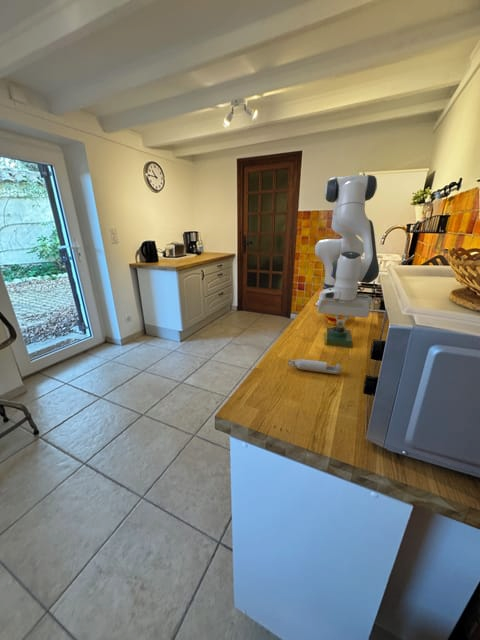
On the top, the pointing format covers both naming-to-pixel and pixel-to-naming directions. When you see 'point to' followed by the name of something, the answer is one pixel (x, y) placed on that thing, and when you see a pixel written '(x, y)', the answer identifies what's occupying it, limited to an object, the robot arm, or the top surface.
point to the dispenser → (338, 338)
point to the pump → (339, 328)
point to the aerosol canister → (315, 366)
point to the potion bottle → (332, 318)
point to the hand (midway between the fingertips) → (340, 324)
